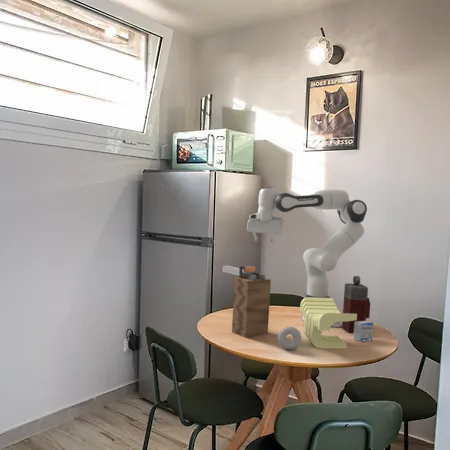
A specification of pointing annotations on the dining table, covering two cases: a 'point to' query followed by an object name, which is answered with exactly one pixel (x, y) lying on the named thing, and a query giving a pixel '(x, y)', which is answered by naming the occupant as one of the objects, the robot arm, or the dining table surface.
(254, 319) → the stand
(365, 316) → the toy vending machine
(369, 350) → the dining table surface
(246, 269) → the keeper bolt
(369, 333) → the medicine box
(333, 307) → the slatted curved stool
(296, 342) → the donut
